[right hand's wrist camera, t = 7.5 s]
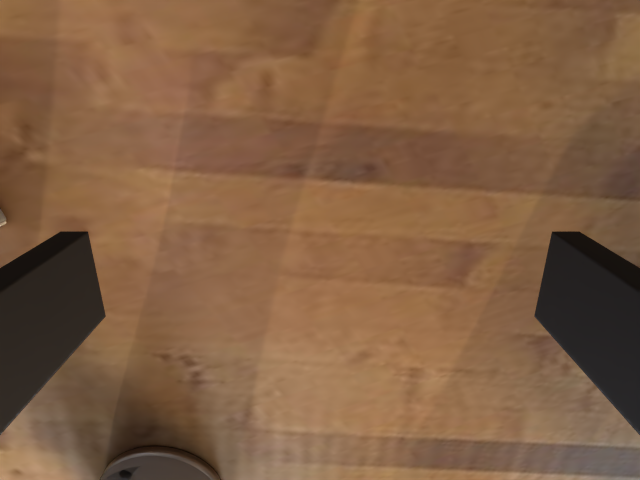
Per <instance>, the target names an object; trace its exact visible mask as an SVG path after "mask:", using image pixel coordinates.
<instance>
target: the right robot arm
mask: <svg viewBox="0 0 640 480" xmlns="http://www.w3.org/2000/svg"><path fill="white" fill-rule="evenodd" d="M104 318H105V311H104V306H103V302H102V297H101V292H100V287H99V283H98V278H97V273H96V268H95V263H94V259H93V254H92V249H91V244H90V240H89V235H88V232H59V233H58V234H56V235H54V236H53V237H51V238H49V239H48V240H46V241H44V242H43V243H41V244H40V245H38V246H36V247H35V248H33V249H31V250H30V251H28V252H26V253H25V254H23V255H21V256H20V257H18V258H16V259H15V260H13V261H11V262H10V263H8V264H6V265H5V266H3V267H2V268H0V435H1V434H2V432H3V431H4V430H5V429H6V428H7V427H8V426H9V425H10V423H11V422H12V421H13V420H14V419H15V418H16V417H17V416H18V414H19V413H20V412H21V411H22V410H23V409H24V408H25V406H26V405H27V404H28V403H29V402H30V401H31V400H32V399H33V397H34V396H35V395H36V394H37V393H38V392H39V391H40V390H41V388H42V387H43V386H44V385H45V384H46V383H47V382H48V381H49V379H50V378H51V377H52V376H53V375H54V374H55V373H56V372H57V370H58V369H59V368H60V367H61V366H62V365H63V364H64V363H65V361H66V360H67V359H68V358H69V357H70V356H71V355H72V354H73V352H74V351H75V350H76V349H77V348H78V347H79V346H80V345H81V343H82V342H83V341H84V340H85V339H86V338H87V337H88V336H89V334H90V333H91V332H92V331H93V330H94V329H95V328H96V327H97V325H98V324H99V323H100V322H101V321H102V320H103V319H104ZM535 318H536V319H537V320H538V321H539V322H540V323H541V324H542V325H543V327H544V328H545V329H546V330H547V331H548V332H549V333H550V334H551V336H552V337H553V338H554V339H555V340H556V341H557V342H558V343H559V345H560V346H561V347H562V348H563V349H564V350H565V351H566V352H567V354H568V355H569V356H570V357H571V358H572V359H573V360H574V361H575V363H576V364H577V365H578V366H579V367H580V368H581V369H582V370H583V372H584V373H585V374H586V375H587V376H588V377H589V378H590V379H591V381H592V382H593V383H594V384H595V385H596V386H597V387H598V388H599V390H600V391H601V392H602V393H603V394H604V395H605V396H606V397H607V399H608V400H609V401H610V402H611V403H612V404H613V405H614V406H615V408H616V409H617V410H618V411H619V412H620V413H621V414H622V416H623V417H624V418H625V419H626V420H627V421H628V422H629V423H630V425H631V426H632V427H633V428H634V429H635V430H636V431H637V432H638V434H639V435H640V268H638V267H637V266H635V265H634V264H632V263H630V262H629V261H627V260H625V259H624V258H622V257H620V256H619V255H617V254H615V253H614V252H612V251H610V250H609V249H607V248H605V247H604V246H602V245H600V244H599V243H597V242H596V241H594V240H592V239H591V238H589V237H587V236H586V235H584V234H582V233H581V232H552V235H551V240H550V244H549V249H548V254H547V259H546V263H545V268H544V273H543V278H542V283H541V287H540V292H539V297H538V302H537V306H536V311H535ZM100 480H221V479H220V478H219V476H218V474H217V473H216V472H215V471H214V470H213V469H212V468H211V467H210V466H209V465H208V464H207V463H206V462H204V461H203V460H201V459H200V458H198V457H196V456H194V455H192V454H190V453H188V452H185V451H182V450H179V449H175V448H170V447H161V446H149V447H141V448H136V449H133V450H129V451H127V452H125V453H123V454H121V455H119V456H118V457H116V458H115V459H114V460H112V461H111V462H110V464H109V465H108V466H107V467H106V469H105V471H104V473H103V475H102V476H101V478H100Z"/></svg>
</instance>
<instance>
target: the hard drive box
mask: <svg viewBox="0 0 640 480" xmlns="http://www.w3.org/2000/svg"><path fill="white" fill-rule="evenodd" d="M5 220H6V217H5V215H4V214H3V212H2V210H1V209H0V226H2V225H4V224H6V221H5Z"/></svg>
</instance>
